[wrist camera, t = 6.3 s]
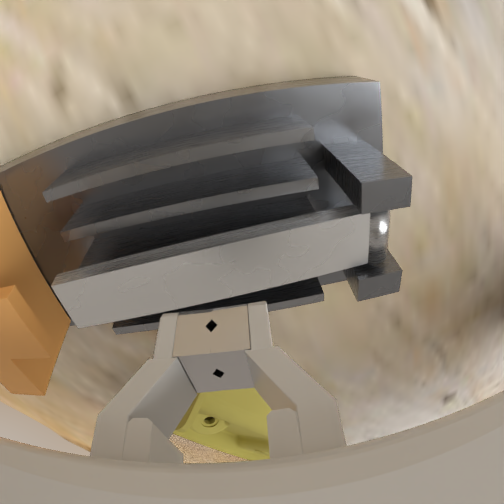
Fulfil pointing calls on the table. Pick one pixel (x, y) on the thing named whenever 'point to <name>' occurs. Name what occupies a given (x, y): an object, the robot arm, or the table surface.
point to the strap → (223, 265)
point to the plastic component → (229, 423)
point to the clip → (26, 315)
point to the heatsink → (210, 181)
